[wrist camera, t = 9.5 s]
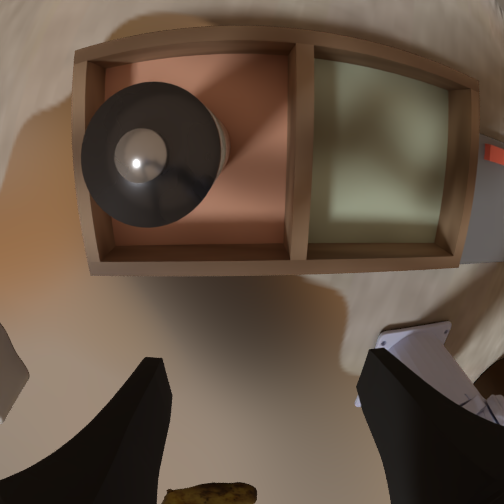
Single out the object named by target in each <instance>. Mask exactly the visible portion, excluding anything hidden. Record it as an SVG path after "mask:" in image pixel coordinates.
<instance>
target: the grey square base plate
mask: <svg viewBox="0 0 504 504" xmlns="http://www.w3.org/2000/svg"><path fill="white" fill-rule="evenodd" d="M503 261H504V143H503V142H500V141H498V140H496V139H493V138H490V137H488V136H485V135H483V134H480V133H479V152H478V165H477V175H476V183H475V191H474V198H473V204H472V210H471V216H470V221H469V226H468V231H467V236H466V240H465V244H464V249H463V253H462V257H461V260H460V264H471V263H488V262H503Z"/></svg>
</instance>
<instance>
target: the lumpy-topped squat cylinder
mask: <svg viewBox="0 0 504 504" xmlns="http://www.w3.org/2000/svg"><path fill="white" fill-rule="evenodd" d="M28 379H29V372H28V370H27V368H26V366H25V364H24V363H23V361H22V360H21V359H20V358H19V356H18V354H17V353H16V351H15V349H14V347H13V345H12V343H11V340H10V338H9V336H8V334H7V332H6V330H5V329H4V327H3V326H2V324H1V323H0V424H2V423H3V422H4V421H5V419H6V417H7V415H8V413H9V411H10V410H11V408H12V406H13V404H14V403H15V401H16V399H17V398H18V395H19V394H20V392H21V391H22V389H23V387H24V386H25V384H26V382H27V381H28Z"/></svg>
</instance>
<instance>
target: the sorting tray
mask: <svg viewBox="0 0 504 504" xmlns="http://www.w3.org/2000/svg"><path fill="white" fill-rule="evenodd" d="M142 82H165V83H170V84H173V85H176V86H179V87H181V88H183V89H185V90H187V91H188V92H190V93H191V94H193V95H194V96H195V97H196V98H198V99H199V100H200V101H201V102H202V103H203V104H204V105H205V106H206V107H207V108H208V109H209V110H210V111H211V112H212V113H213V114H214V115H215V116H216V117H217V118H218V119H219V120H220V121H221V122H222V123H223V125H224V126H225V128H226V130H227V132H228V134H229V138H230V144H231V148H230V155H229V159H228V161H227V163H226V165H225V167H224V168H223V170H222V171H221V173H220V175H219V176H218V178H217V179H216V181H215V182H214V184H213V185H212V187H211V189H210V190H209V192H208V193H207V195H206V197H205V198H204V199H203V200H202V202H201V203H200V204H199V205H198V206H197V207H196V208H195V209H194V210H193V211H192V212H190V213H189V214H188V215H186V216H185V217H183V218H181V219H180V220H178V221H176V222H173V223H171V224H168V225H164V226H160V227H153V228H141V227H135V226H131V225H127V224H124V223H122V222H120V221H118V220H116V219H114V218H113V217H111V216H109V215H108V214H107V213H106V212H105V211H103V210H102V209H101V208H100V207H99V205H98V204H97V203H96V202H95V200H94V199H93V198H92V196H91V194H90V192H89V191H88V189H87V186H86V184H85V181H84V177H83V174H82V167H81V148H82V142H83V138H84V135H85V132H86V129H87V127H88V125H89V122H90V120H91V119H92V117H93V116H94V114H95V112H96V111H97V110H98V109H99V108H100V106H101V105H102V104H103V103H104V102H105V101H106V100H107V99H108V98H110V97H111V96H112V95H114V94H115V93H117V92H118V91H120V90H122V89H124V88H126V87H129V86H131V85H134V84H138V83H142ZM479 131H480V101H479V81H478V80H476V79H474V78H472V77H470V76H468V75H465V74H463V73H461V72H459V71H457V70H454V69H452V68H450V67H447V66H445V65H442V64H440V63H437V62H435V61H432V60H430V59H427V58H424V57H421V56H419V55H416V54H413V53H410V52H407V51H403V50H400V49H397V48H394V47H390V46H386V45H383V44H379V43H375V42H371V41H367V40H363V39H358V38H354V37H349V36H344V35H338V34H333V33H327V32H320V31H313V30H305V29H296V28H285V27H271V26H207V27H193V28H183V29H174V30H166V31H158V32H152V33H146V34H141V35H135V36H130V37H125V38H121V39H117V40H112V41H108V42H104V43H100V44H96V45H93V46H89V47H86V48H82V49H79V50H76V51H75V56H74V67H73V82H72V149H73V164H74V176H75V187H76V195H77V203H78V211H79V217H80V224H81V230H82V236H83V241H84V246H85V251H86V256H87V261H88V265H89V270H90V274H91V275H94V276H99V275H100V276H257V275H302V274H335V273H362V272H386V271H407V270H426V269H443V268H459V264H460V260H461V257H462V253H463V249H464V244H465V240H466V236H467V231H468V226H469V221H470V216H471V210H472V204H473V198H474V191H475V183H476V175H477V165H478V152H479Z"/></svg>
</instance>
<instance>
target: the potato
mask: <svg viewBox="0 0 504 504" xmlns="http://www.w3.org/2000/svg"><path fill="white" fill-rule="evenodd" d="M256 500H257V490H256V488H254V487H253V486H251V485H249V484H245V483H241V482H237V483H207V484H201V485H197V486H193V487H190V488H184V489H177V490H171V489H168V490H167V495H166V496H165V497H164V500H163V502H162V504H254V503H255V502H256Z"/></svg>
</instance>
